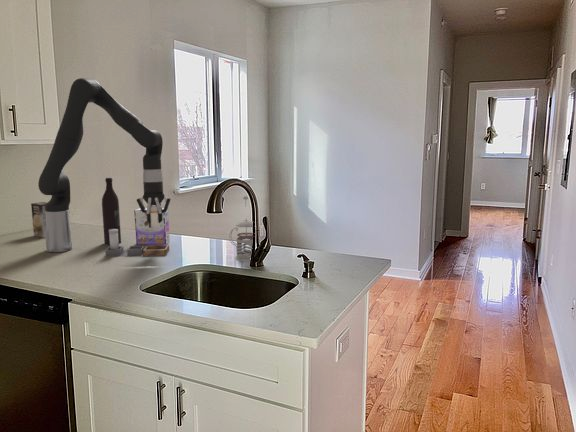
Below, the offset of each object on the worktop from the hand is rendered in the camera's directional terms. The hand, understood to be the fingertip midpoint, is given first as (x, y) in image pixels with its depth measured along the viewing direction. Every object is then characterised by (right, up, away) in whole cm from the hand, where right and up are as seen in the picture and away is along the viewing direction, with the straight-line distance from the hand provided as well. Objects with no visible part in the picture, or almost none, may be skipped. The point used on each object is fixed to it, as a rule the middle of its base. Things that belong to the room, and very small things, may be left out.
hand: (155, 222), depth 202 cm
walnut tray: (0, -13, +2) cm, 13 cm away
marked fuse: (0, -3, +1) cm, 3 cm away
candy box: (-6, -11, +21) cm, 24 cm away
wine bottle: (-24, -11, +21) cm, 34 cm away
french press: (+37, -14, -3) cm, 40 cm away
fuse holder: (-12, -14, +1) cm, 18 cm away
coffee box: (-65, -7, +40) cm, 77 cm away
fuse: (-17, -13, 0) cm, 21 cm away
